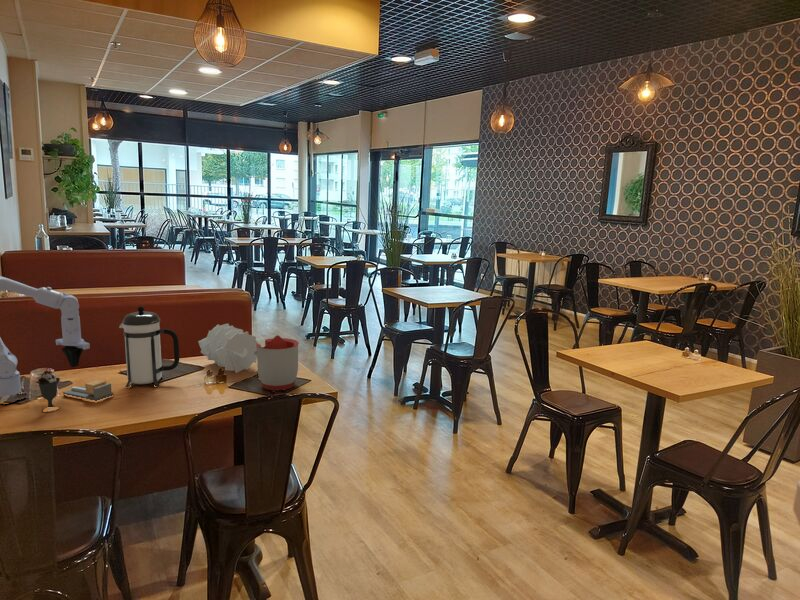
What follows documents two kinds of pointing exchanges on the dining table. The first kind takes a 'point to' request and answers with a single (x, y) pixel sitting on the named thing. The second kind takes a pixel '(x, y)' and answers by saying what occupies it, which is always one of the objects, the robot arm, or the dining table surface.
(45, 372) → the sundae
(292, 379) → the citrus juicer
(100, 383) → the sliding carriage
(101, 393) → the track
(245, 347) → the white ruffled oval piece
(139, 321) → the coffee press
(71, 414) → the dining table surface
